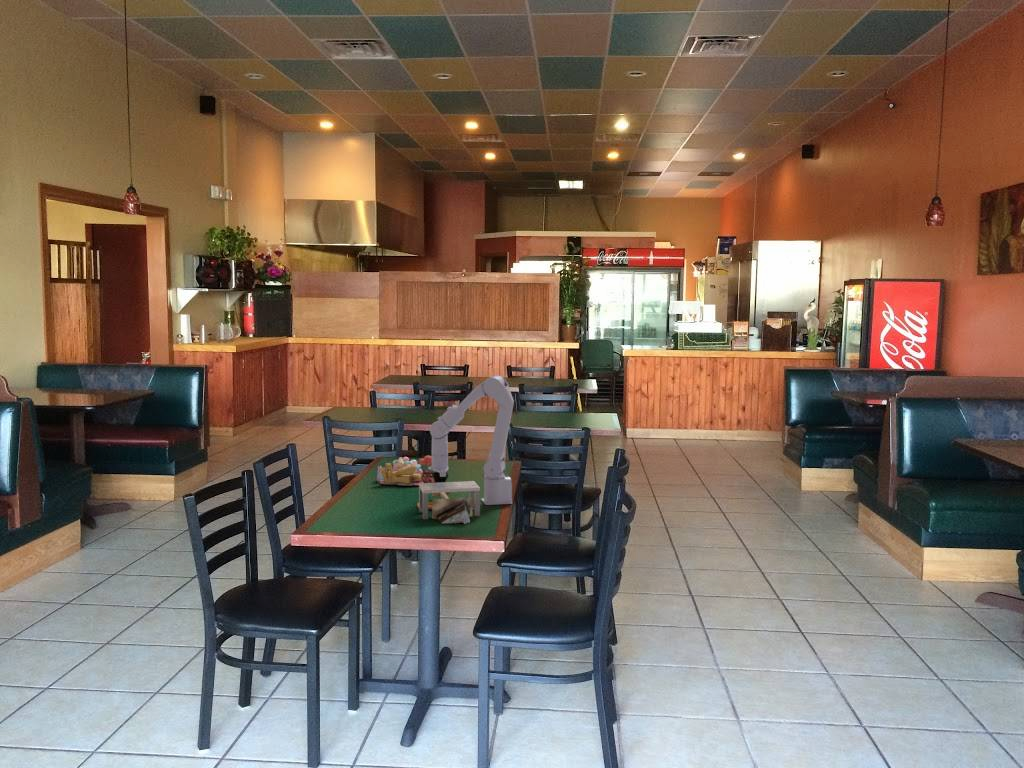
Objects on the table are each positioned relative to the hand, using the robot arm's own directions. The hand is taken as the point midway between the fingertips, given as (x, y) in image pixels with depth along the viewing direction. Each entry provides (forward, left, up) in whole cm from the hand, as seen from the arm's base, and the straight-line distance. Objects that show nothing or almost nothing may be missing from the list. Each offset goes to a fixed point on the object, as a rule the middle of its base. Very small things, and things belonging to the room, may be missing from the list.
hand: (439, 492), depth 287 cm
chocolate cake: (0, +30, -3) cm, 30 cm away
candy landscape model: (+7, -34, -3) cm, 35 cm away
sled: (0, +14, -2) cm, 14 cm away
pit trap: (0, +11, -2) cm, 11 cm away
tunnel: (0, +20, -2) cm, 20 cm away
